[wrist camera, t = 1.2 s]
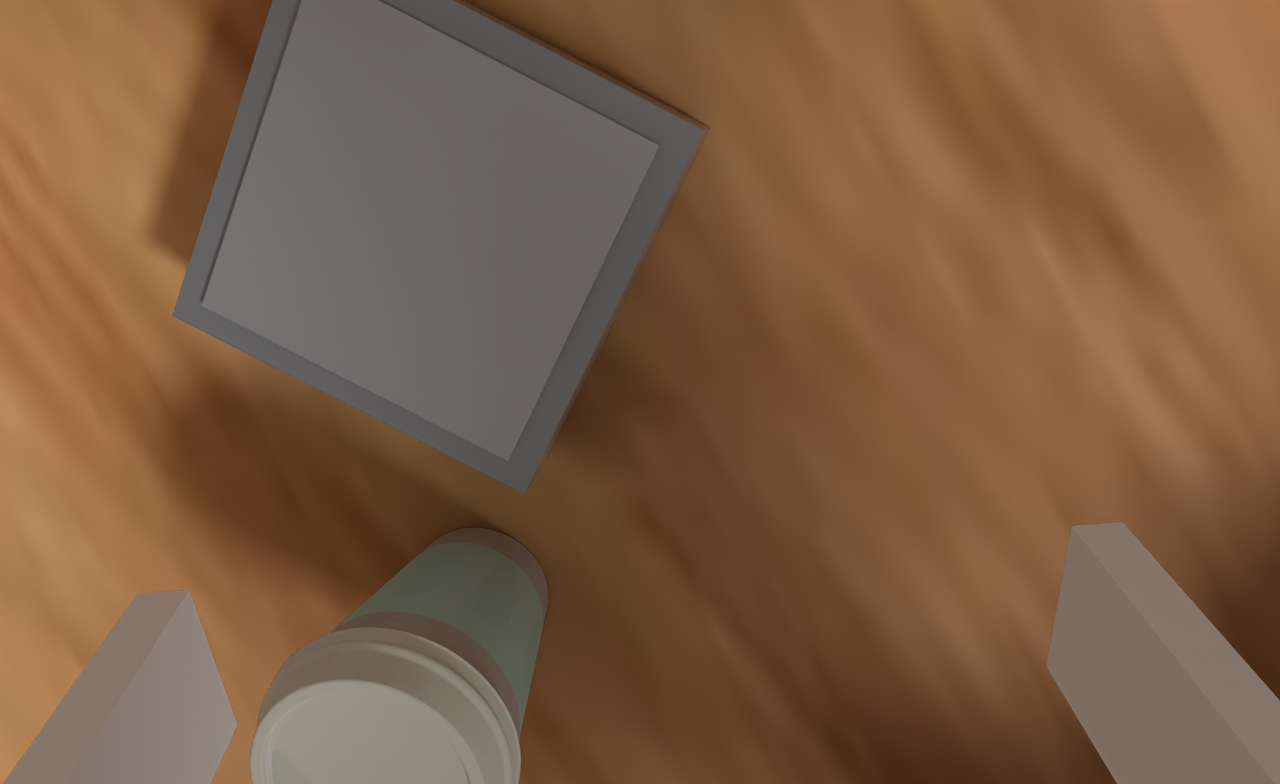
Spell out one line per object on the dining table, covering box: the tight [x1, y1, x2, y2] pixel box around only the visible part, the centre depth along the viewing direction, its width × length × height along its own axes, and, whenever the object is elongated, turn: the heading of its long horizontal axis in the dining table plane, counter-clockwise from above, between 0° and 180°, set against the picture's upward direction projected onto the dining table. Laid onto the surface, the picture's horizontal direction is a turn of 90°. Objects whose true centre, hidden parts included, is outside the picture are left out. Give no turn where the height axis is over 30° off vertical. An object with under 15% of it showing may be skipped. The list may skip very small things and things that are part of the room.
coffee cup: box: [250, 528, 548, 784], centre depth 33 cm, size 8×9×12 cm
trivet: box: [173, 0, 710, 494], centre depth 32 cm, size 14×14×4 cm
